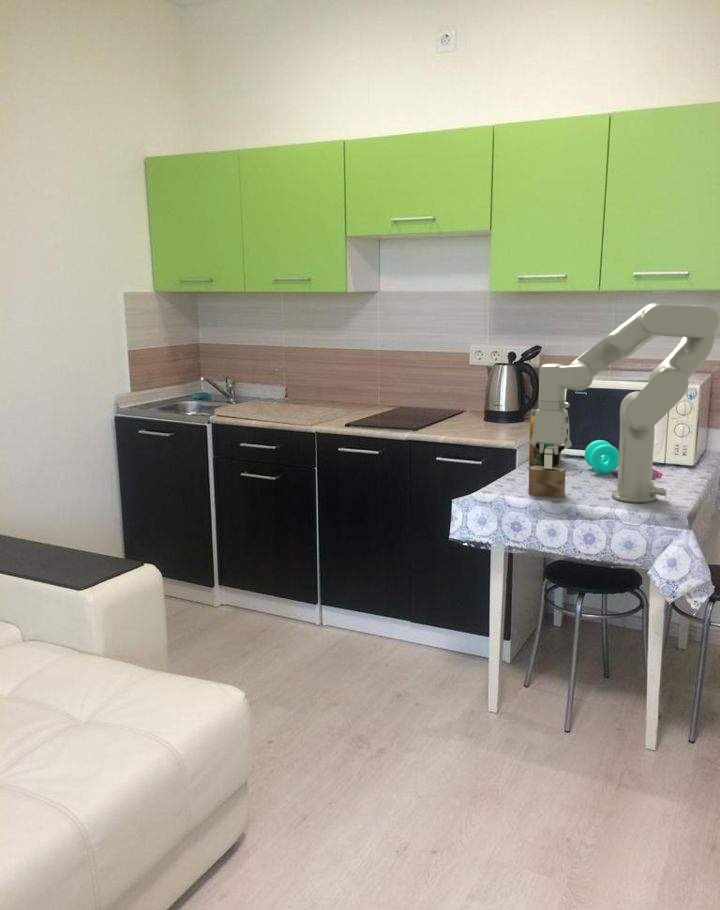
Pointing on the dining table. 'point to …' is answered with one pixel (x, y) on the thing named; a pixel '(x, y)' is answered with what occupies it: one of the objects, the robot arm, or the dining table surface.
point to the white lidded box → (548, 457)
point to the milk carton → (533, 451)
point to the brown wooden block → (547, 481)
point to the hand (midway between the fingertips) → (549, 465)
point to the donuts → (609, 459)
